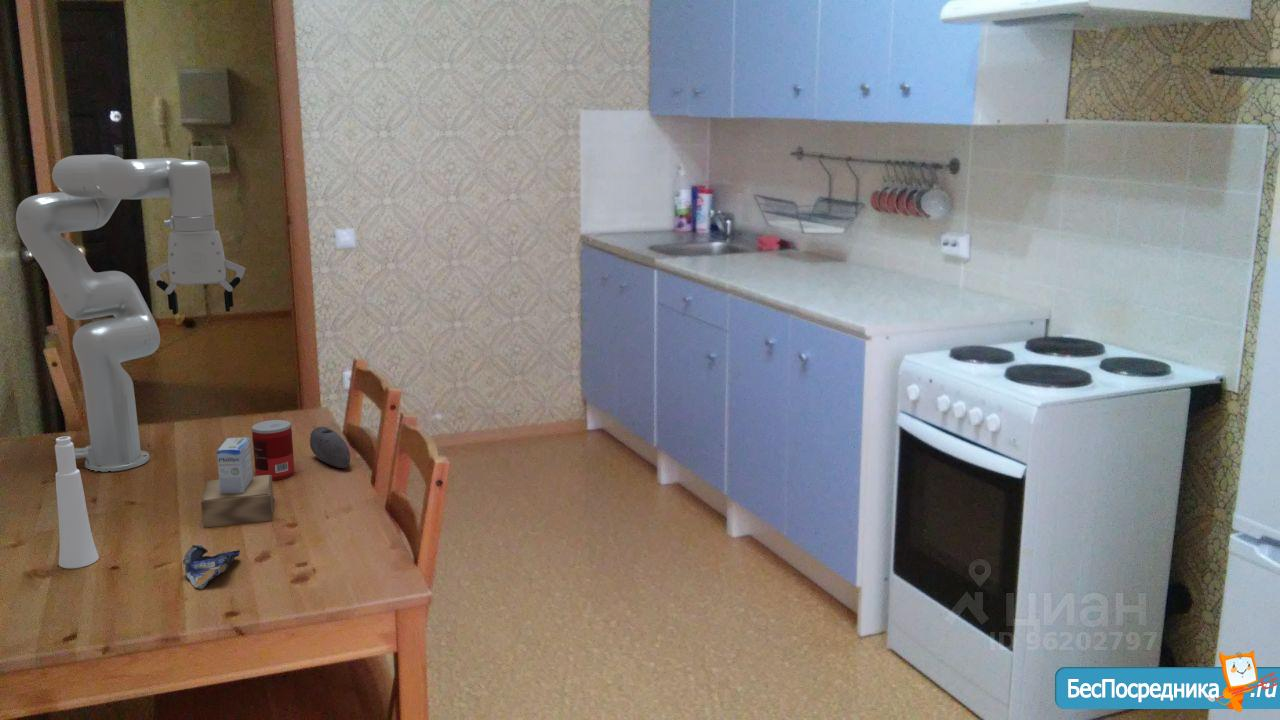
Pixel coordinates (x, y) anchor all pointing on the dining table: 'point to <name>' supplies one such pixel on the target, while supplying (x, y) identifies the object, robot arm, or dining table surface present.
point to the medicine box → (234, 465)
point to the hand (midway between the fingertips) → (202, 311)
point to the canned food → (273, 449)
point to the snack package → (206, 563)
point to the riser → (238, 503)
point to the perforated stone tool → (329, 447)
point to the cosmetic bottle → (72, 511)
